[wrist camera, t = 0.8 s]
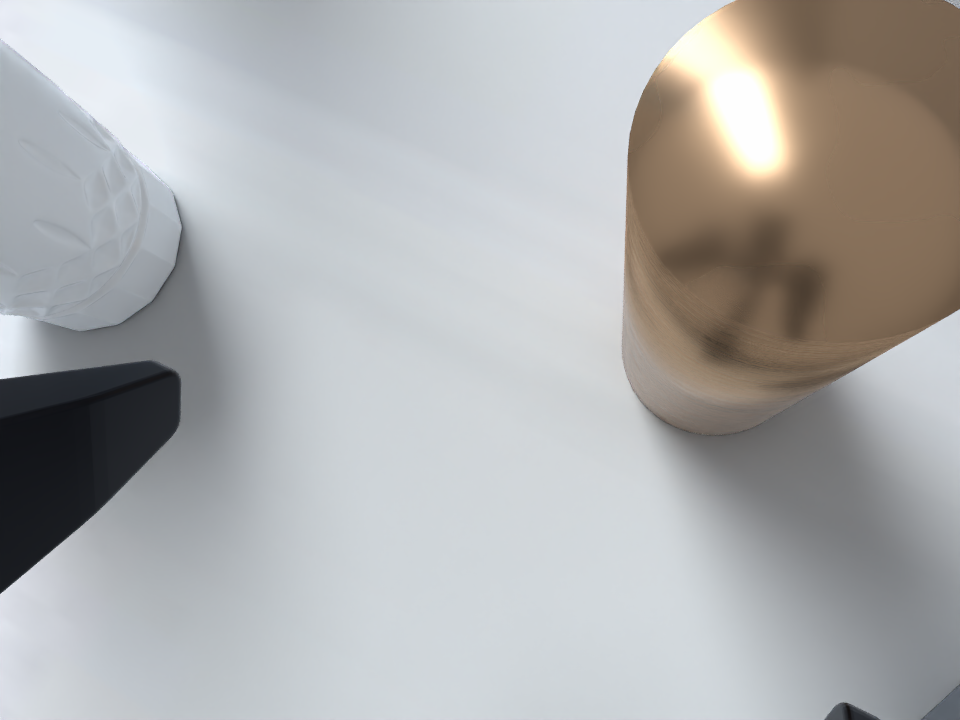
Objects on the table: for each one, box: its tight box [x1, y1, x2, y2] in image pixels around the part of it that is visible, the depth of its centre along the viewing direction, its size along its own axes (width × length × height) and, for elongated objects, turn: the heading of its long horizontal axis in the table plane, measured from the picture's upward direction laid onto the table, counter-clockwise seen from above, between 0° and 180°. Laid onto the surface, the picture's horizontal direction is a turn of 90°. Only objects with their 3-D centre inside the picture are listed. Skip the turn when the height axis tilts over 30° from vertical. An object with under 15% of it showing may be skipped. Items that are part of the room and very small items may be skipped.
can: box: [622, 0, 960, 435], centre depth 16 cm, size 5×5×13 cm
